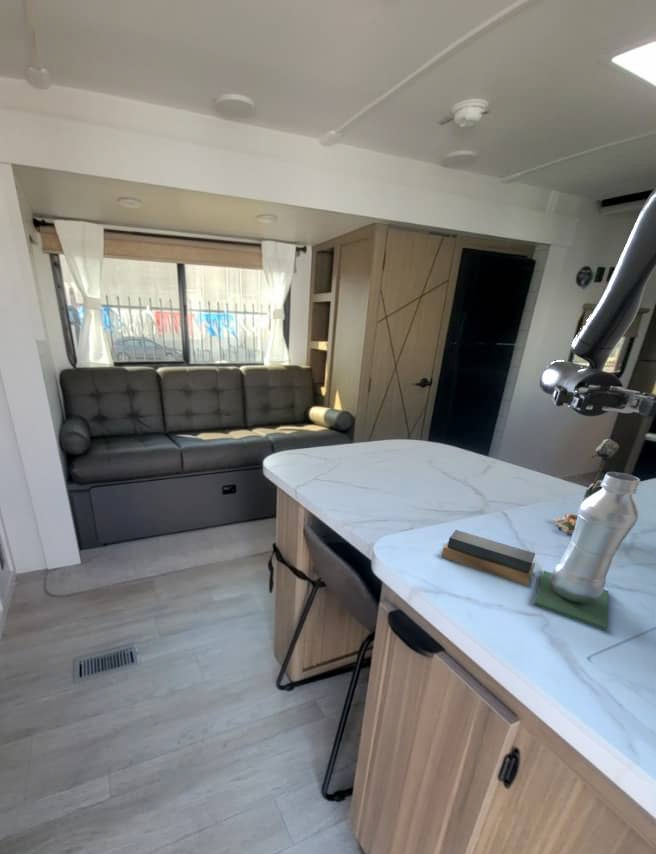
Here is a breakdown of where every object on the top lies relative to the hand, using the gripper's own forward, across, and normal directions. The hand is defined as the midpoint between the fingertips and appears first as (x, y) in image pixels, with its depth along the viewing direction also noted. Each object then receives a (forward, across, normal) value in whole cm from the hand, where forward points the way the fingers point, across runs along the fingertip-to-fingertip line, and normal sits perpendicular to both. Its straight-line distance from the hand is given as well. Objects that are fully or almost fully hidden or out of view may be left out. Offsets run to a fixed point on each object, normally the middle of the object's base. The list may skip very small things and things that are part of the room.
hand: (618, 407), depth 61 cm
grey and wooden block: (+6, -12, +28) cm, 31 cm away
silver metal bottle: (+11, 0, +28) cm, 30 cm away
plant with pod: (-18, +8, +28) cm, 34 cm away
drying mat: (+11, 0, +28) cm, 30 cm away
